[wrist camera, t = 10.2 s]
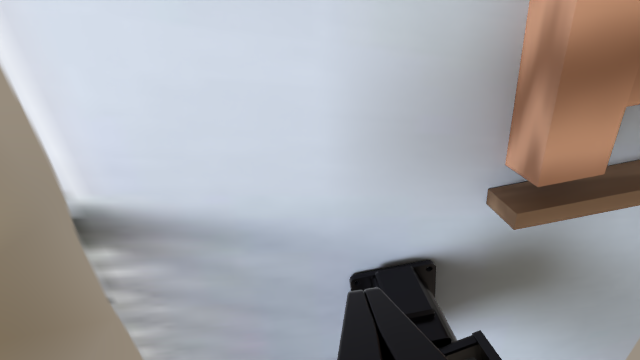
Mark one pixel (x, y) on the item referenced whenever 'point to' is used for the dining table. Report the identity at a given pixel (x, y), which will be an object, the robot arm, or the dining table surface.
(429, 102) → the dining table surface
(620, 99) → the terracotta T block
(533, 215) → the walnut bay
